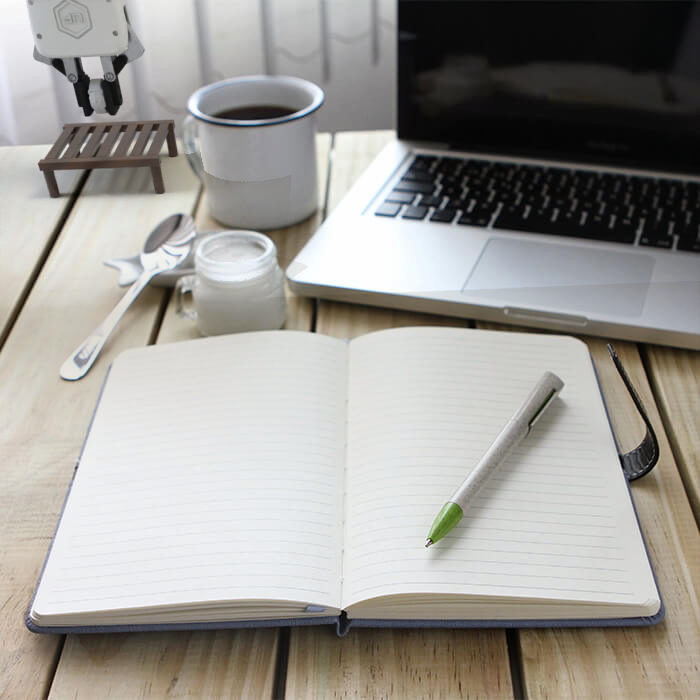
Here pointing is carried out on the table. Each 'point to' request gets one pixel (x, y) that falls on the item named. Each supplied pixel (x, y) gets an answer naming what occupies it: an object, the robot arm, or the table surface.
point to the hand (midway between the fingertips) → (102, 110)
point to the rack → (109, 149)
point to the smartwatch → (97, 96)
